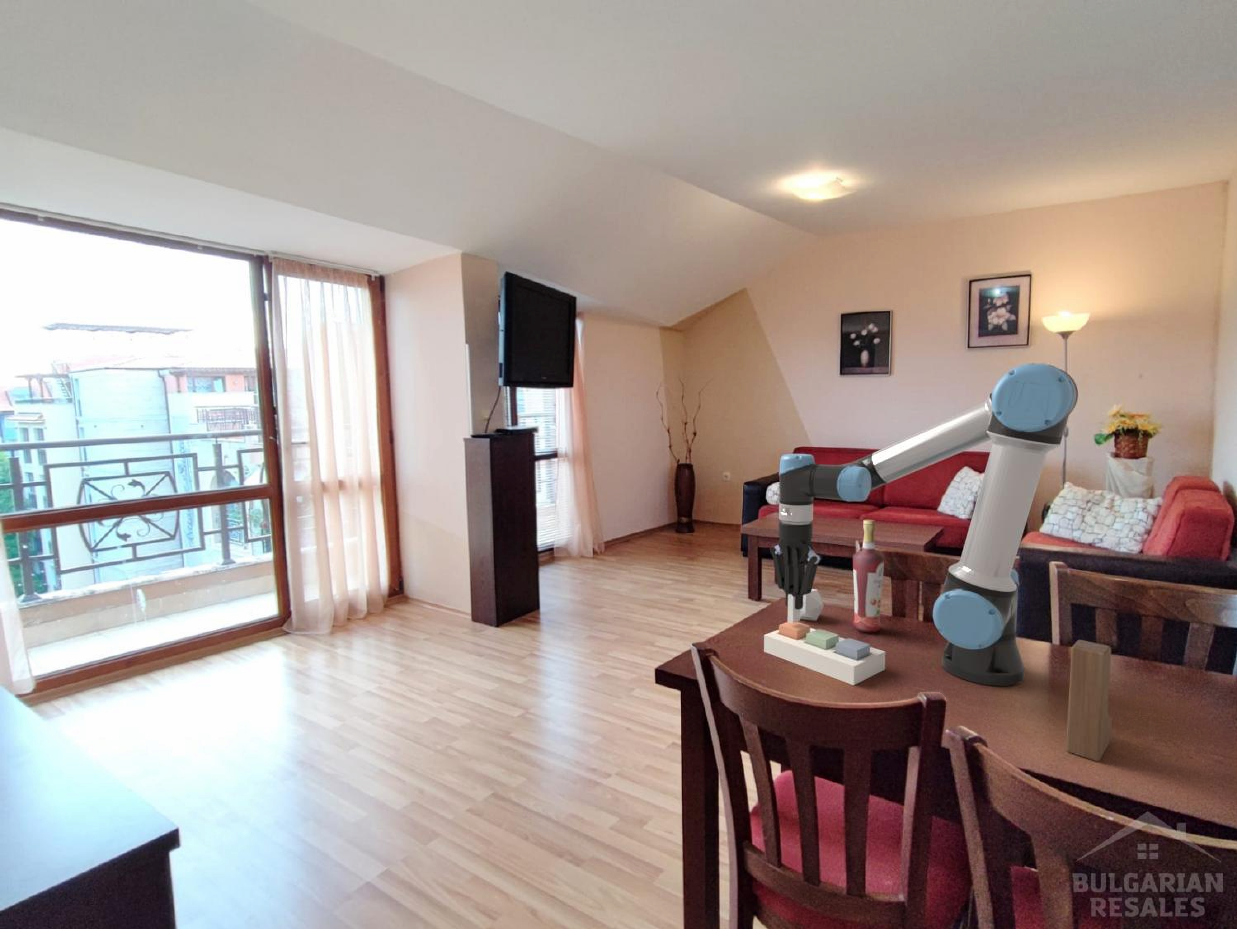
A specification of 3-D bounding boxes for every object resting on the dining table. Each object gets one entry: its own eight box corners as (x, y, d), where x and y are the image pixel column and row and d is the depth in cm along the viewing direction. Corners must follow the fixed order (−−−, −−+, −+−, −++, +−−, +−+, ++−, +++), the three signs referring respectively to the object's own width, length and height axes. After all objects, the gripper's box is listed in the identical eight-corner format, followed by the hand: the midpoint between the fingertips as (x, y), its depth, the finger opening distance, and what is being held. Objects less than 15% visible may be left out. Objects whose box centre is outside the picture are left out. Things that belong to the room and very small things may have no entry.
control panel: (884, 669, 136) (885, 651, 136) (853, 685, 129) (853, 666, 129) (795, 639, 154) (796, 623, 154) (764, 651, 147) (764, 635, 147)
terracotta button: (810, 638, 147) (810, 625, 147) (796, 643, 144) (796, 630, 143) (792, 632, 151) (792, 620, 150) (778, 637, 148) (779, 625, 147)
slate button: (869, 658, 135) (870, 644, 135) (856, 664, 132) (857, 650, 132) (848, 651, 139) (848, 638, 139) (835, 657, 136) (835, 643, 136)
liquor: (874, 637, 155) (876, 524, 152) (846, 629, 160) (848, 520, 158) (887, 629, 160) (890, 520, 157) (859, 622, 165) (862, 516, 162)
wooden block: (1078, 732, 110) (1084, 631, 108) (1111, 742, 106) (1117, 638, 105) (1065, 752, 104) (1071, 645, 102) (1099, 763, 100) (1105, 653, 99)
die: (785, 615, 174) (782, 594, 167) (807, 596, 176) (805, 575, 170) (809, 633, 168) (807, 612, 162) (831, 613, 171) (829, 592, 164)
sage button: (838, 647, 141) (838, 634, 141) (825, 653, 138) (825, 640, 138) (819, 641, 145) (819, 628, 145) (806, 646, 142) (806, 633, 142)
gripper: (762, 519, 147) (761, 617, 150) (809, 527, 137) (807, 633, 140) (782, 515, 152) (781, 610, 154) (830, 523, 142) (827, 625, 144)
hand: (793, 621), depth 147 cm, fingers closed
